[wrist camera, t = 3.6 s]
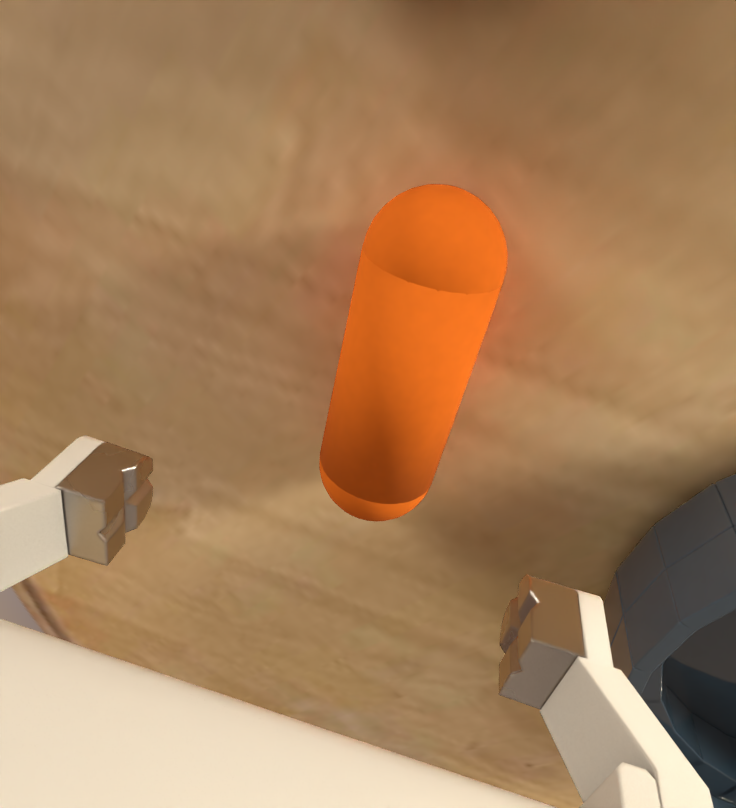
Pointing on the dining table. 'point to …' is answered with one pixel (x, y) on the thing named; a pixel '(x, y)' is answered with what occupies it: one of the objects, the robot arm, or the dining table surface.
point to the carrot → (409, 347)
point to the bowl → (685, 631)
